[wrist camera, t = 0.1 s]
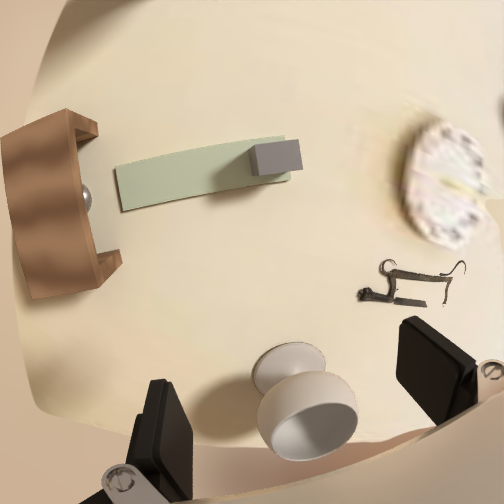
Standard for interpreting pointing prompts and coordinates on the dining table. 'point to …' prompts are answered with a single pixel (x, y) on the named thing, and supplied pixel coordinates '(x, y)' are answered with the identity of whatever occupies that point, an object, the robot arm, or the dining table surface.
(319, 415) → the chalice
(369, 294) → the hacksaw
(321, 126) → the dining table surface
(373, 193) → the dining table surface
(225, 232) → the dining table surface
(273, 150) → the sage green plank
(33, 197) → the bench
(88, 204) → the steel disc
